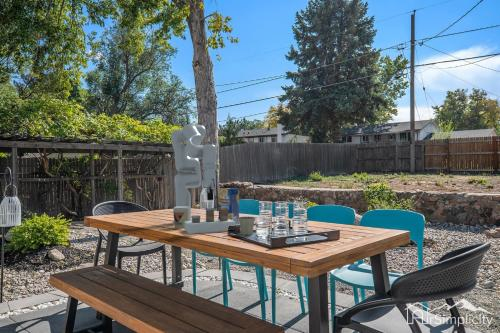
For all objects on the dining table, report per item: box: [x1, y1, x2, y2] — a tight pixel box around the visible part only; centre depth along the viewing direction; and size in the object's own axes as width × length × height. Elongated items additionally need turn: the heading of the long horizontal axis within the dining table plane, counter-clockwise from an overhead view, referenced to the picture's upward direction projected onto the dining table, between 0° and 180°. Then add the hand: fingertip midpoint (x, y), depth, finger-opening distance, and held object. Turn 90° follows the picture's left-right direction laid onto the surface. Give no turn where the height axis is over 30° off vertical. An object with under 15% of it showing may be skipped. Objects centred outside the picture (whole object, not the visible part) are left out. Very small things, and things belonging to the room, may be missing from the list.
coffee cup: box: [172, 206, 189, 229], centre depth 228 cm, size 9×9×12 cm
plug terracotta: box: [218, 206, 228, 221], centre depth 218 cm, size 4×4×8 cm
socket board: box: [184, 219, 237, 235], centre depth 215 cm, size 12×26×5 cm, turn 112°
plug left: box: [191, 214, 201, 223], centre depth 212 cm, size 4×4×8 cm
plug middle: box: [205, 207, 215, 222], centre depth 215 cm, size 4×4×8 cm
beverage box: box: [218, 187, 240, 225], centre depth 240 cm, size 7×11×22 cm, turn 52°
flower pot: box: [238, 216, 257, 236], centre depth 202 cm, size 9×9×9 cm
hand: (210, 199), depth 214 cm, fingers closed
